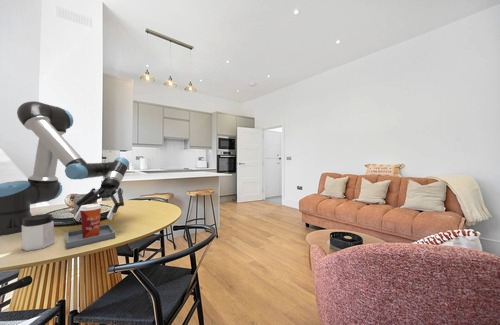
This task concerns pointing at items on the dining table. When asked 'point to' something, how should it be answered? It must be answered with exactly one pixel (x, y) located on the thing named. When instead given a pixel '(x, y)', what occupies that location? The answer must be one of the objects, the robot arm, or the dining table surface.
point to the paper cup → (90, 220)
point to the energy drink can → (76, 199)
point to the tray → (77, 237)
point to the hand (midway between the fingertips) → (92, 219)
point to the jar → (37, 232)
